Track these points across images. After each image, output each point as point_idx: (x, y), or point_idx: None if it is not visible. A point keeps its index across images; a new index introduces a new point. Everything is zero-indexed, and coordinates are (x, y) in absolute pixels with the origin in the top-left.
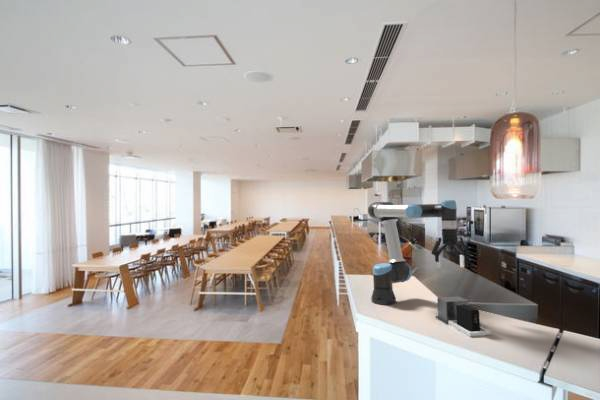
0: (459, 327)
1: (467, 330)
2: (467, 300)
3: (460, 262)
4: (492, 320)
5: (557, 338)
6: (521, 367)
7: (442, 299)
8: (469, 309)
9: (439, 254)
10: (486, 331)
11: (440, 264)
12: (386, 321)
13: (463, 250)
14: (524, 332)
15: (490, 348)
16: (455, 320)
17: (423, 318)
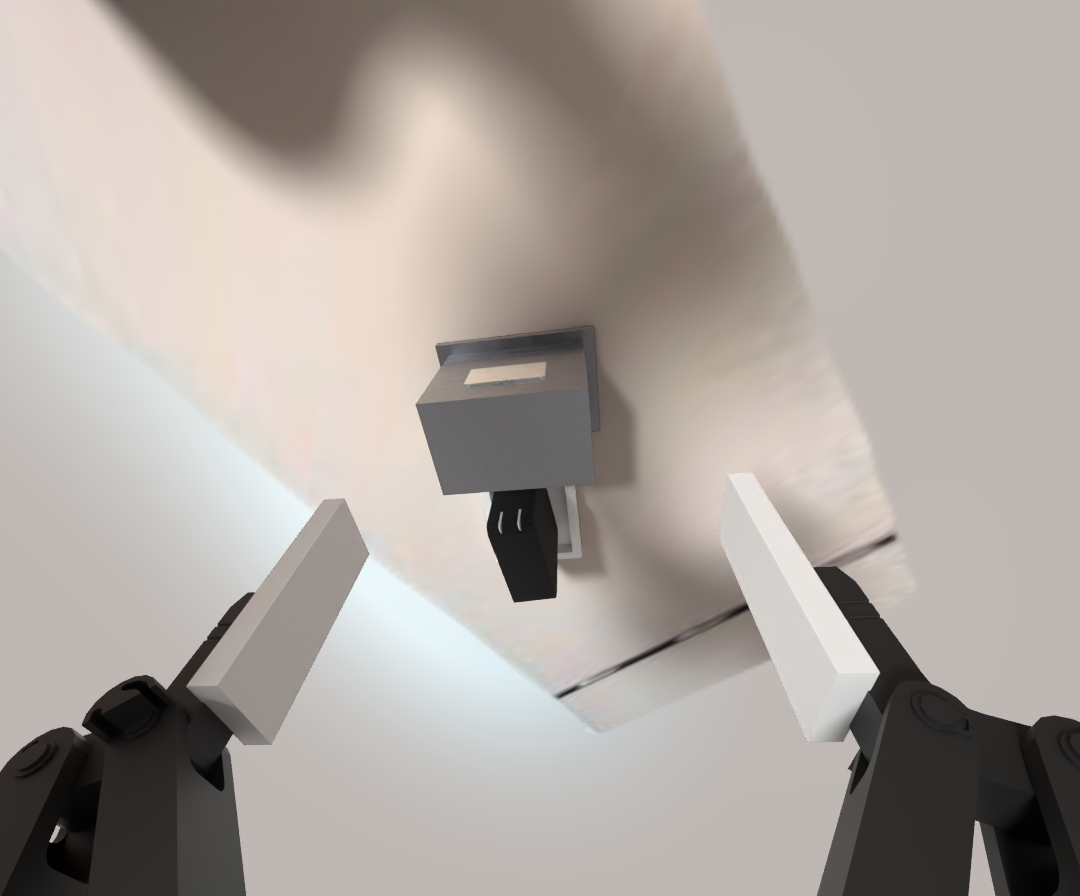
0: (485, 513)
1: None
2: (590, 483)
3: (752, 536)
4: (725, 406)
5: None
6: (530, 681)
7: (436, 449)
8: (514, 594)
9: (229, 784)
10: (566, 558)
11: (343, 598)
12: (168, 378)
13: (1053, 849)
14: None
15: (517, 615)
16: None
17: (367, 348)
